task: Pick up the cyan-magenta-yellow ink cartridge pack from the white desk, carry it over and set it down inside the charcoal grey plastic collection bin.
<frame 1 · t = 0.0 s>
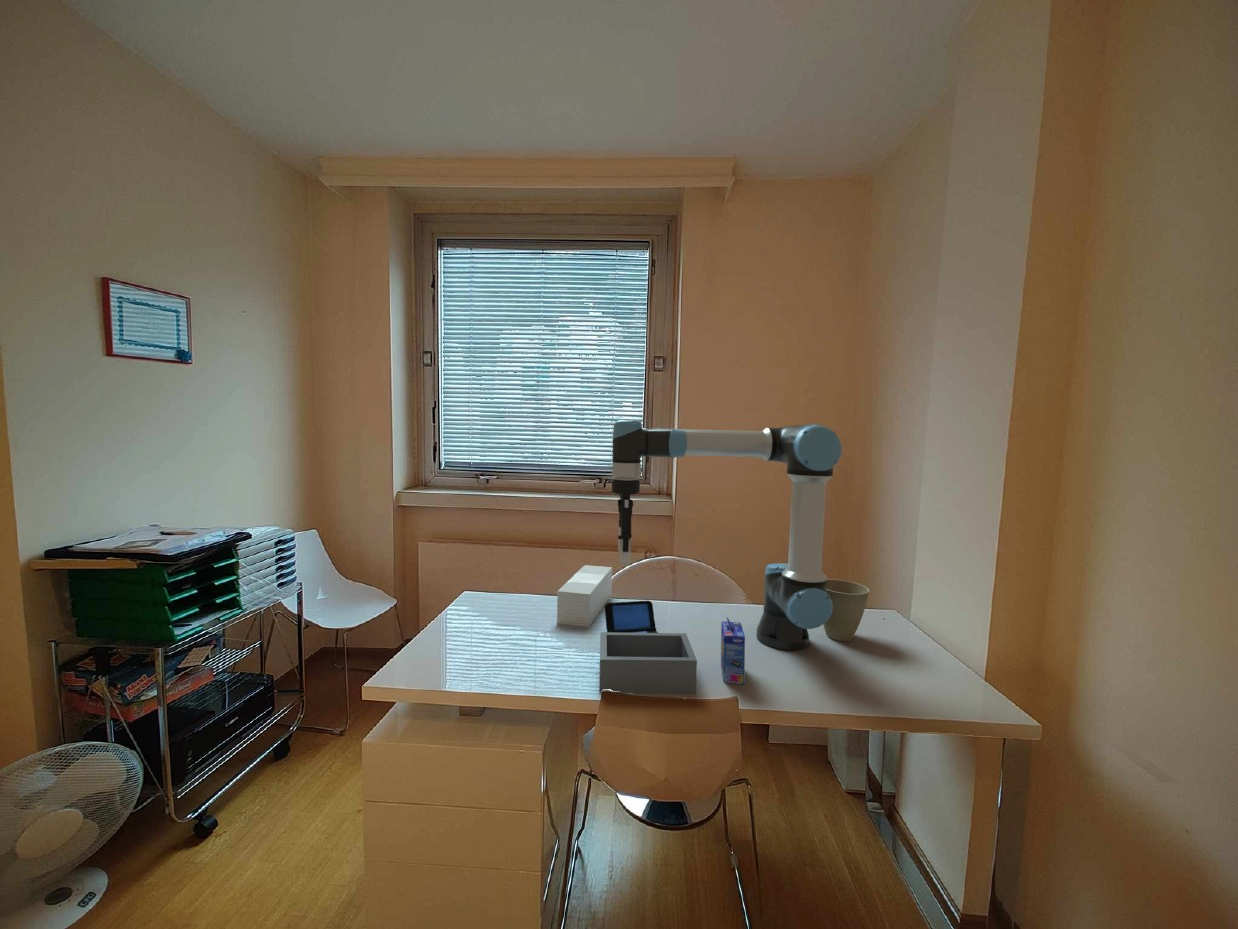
hand: (623, 557, 137), 28 cm above the table, fingers open, 13 cm apart
plant pot: (839, 637, 157), on the table
handheld game console: (633, 639, 152), on the table
ink cartridge box: (731, 675, 131), on the table
collection bin: (644, 676, 129), on the table
stack of papers: (586, 609, 177), on the table
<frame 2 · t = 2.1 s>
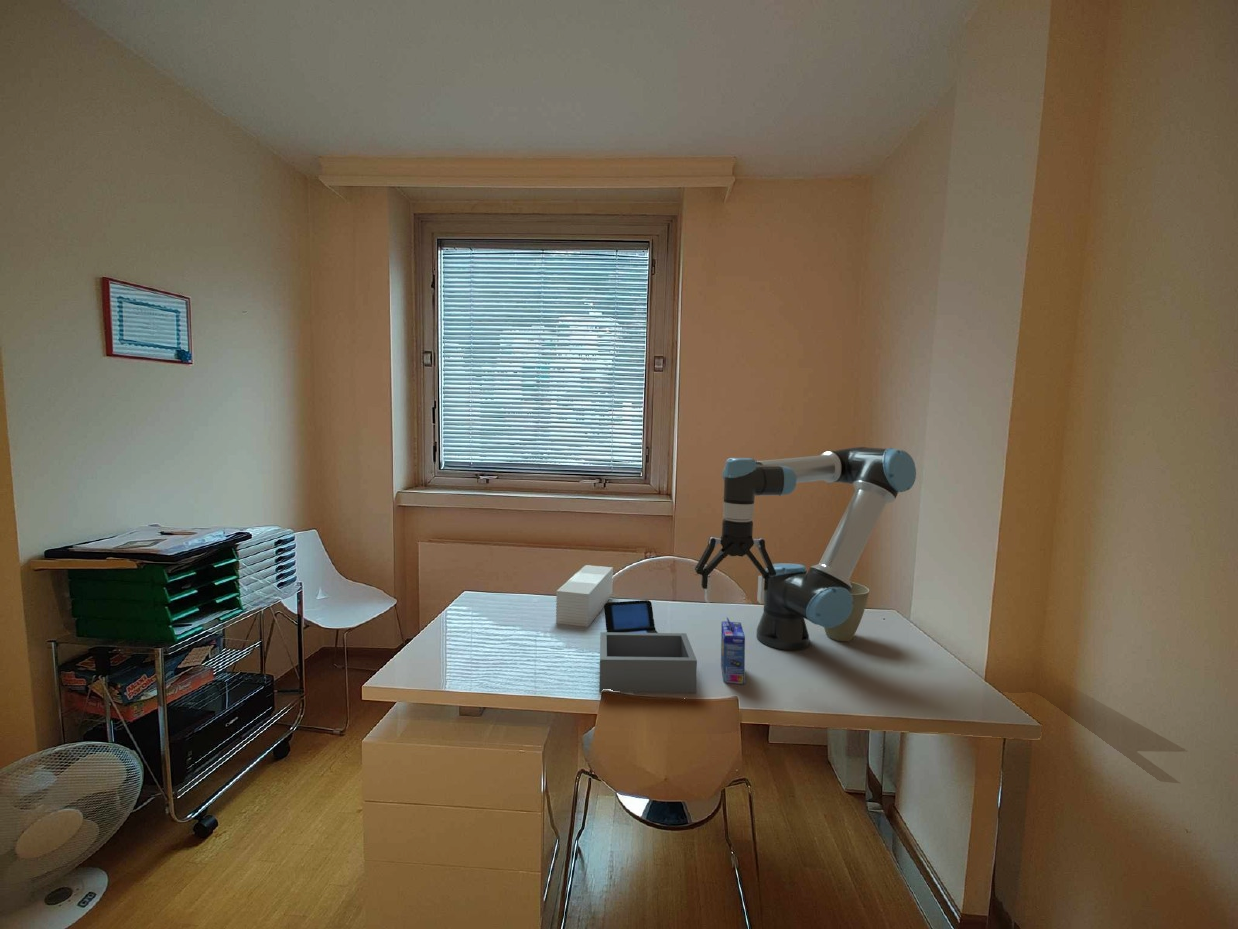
hand: (733, 601, 130), 19 cm above the table, fingers open, 13 cm apart
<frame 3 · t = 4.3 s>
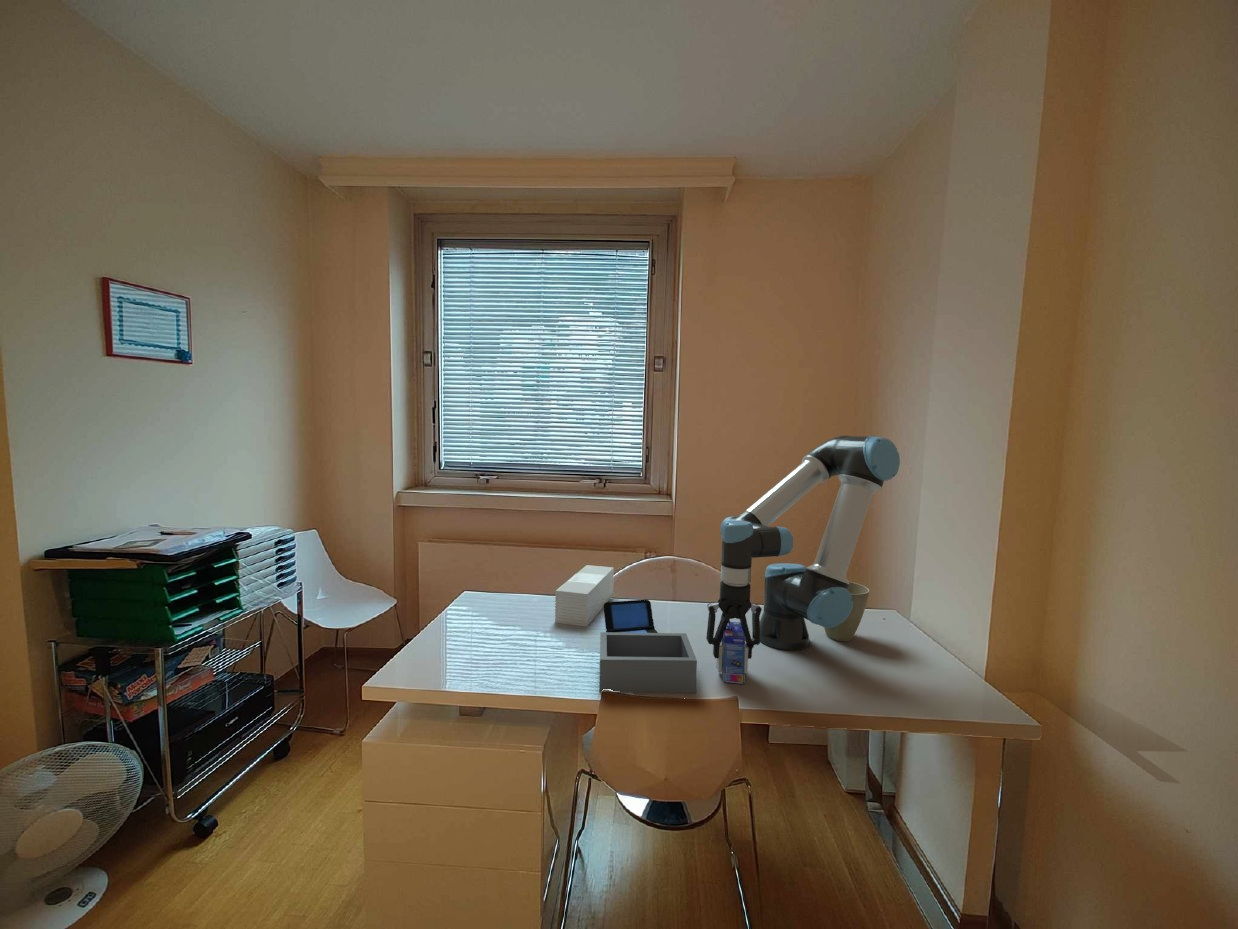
hand: (731, 669, 131), 1 cm above the table, fingers closed on ink cartridge box, 6 cm apart
ink cartridge box: (731, 675, 131), on the table, touching gripper
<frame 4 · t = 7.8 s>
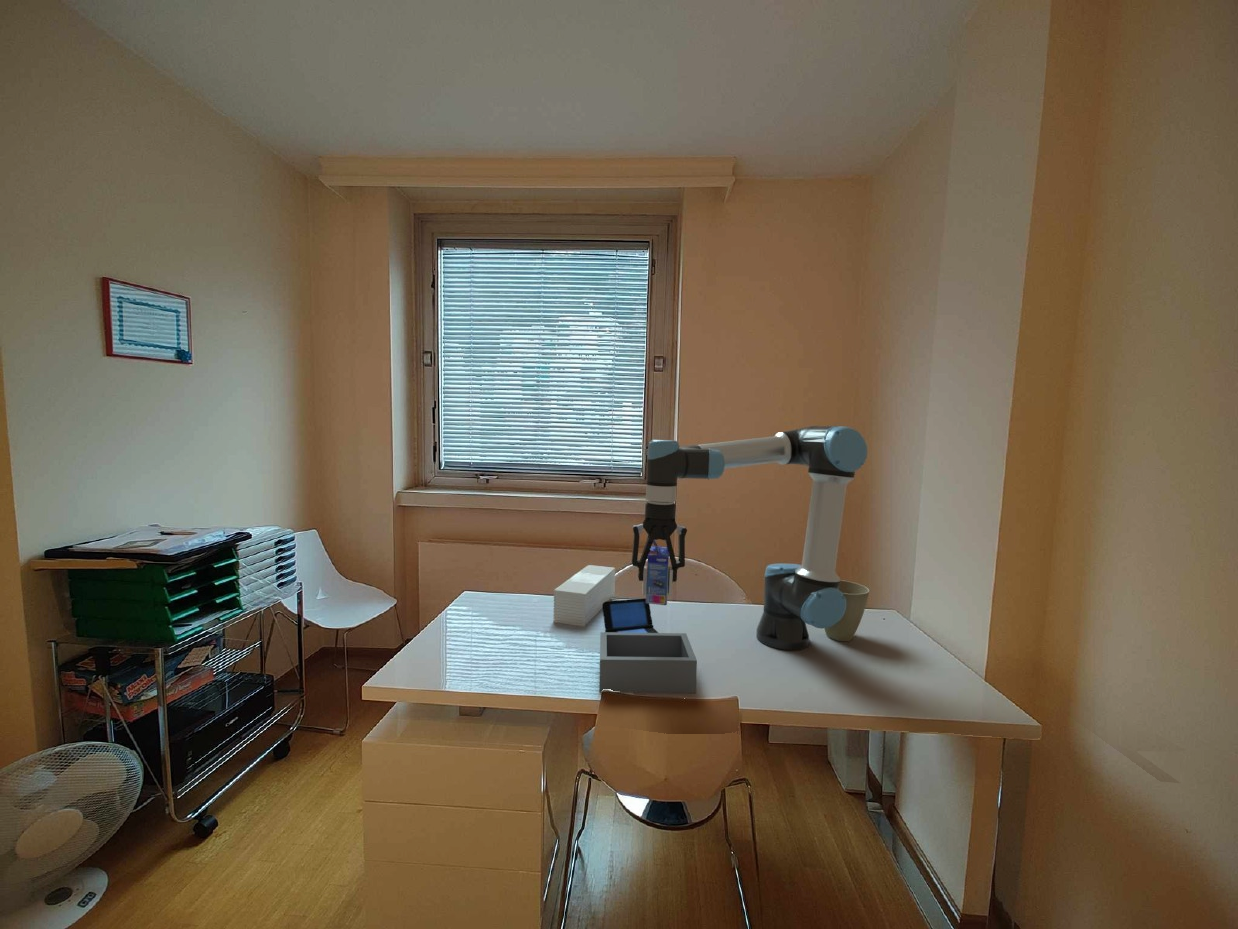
hand: (656, 593, 128), 21 cm above the table, fingers closed on ink cartridge box, 6 cm apart
ink cartridge box: (656, 599, 128), point 20 cm above the table, touching gripper
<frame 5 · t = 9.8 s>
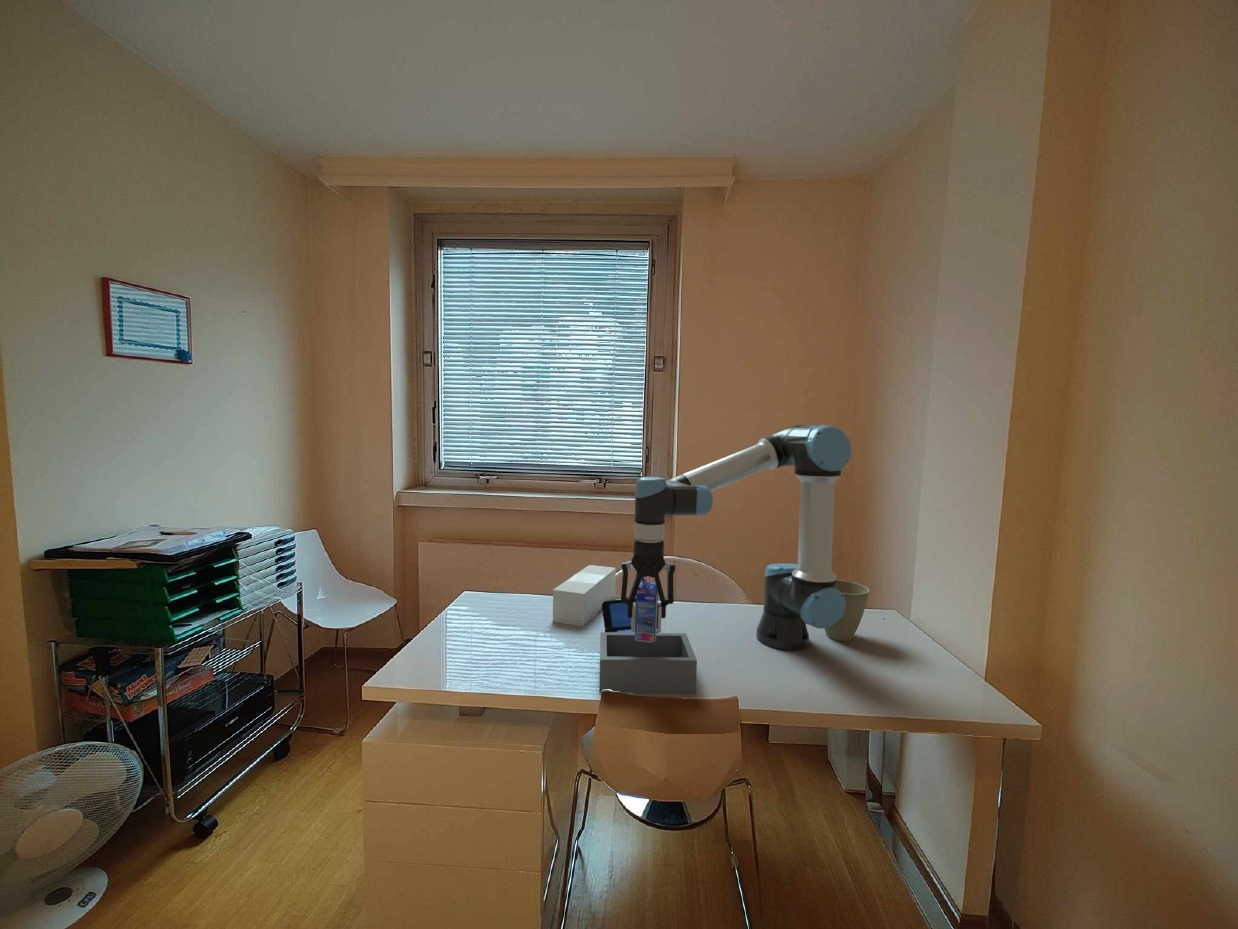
hand: (645, 629, 128), 12 cm above the table, fingers closed on ink cartridge box, 6 cm apart
ink cartridge box: (645, 635, 128), point 11 cm above the table, touching gripper
when the fingers open (5 cm above the table, at t = 11.5 s): ink cartridge box drops 2 cm, resting on collection bin.
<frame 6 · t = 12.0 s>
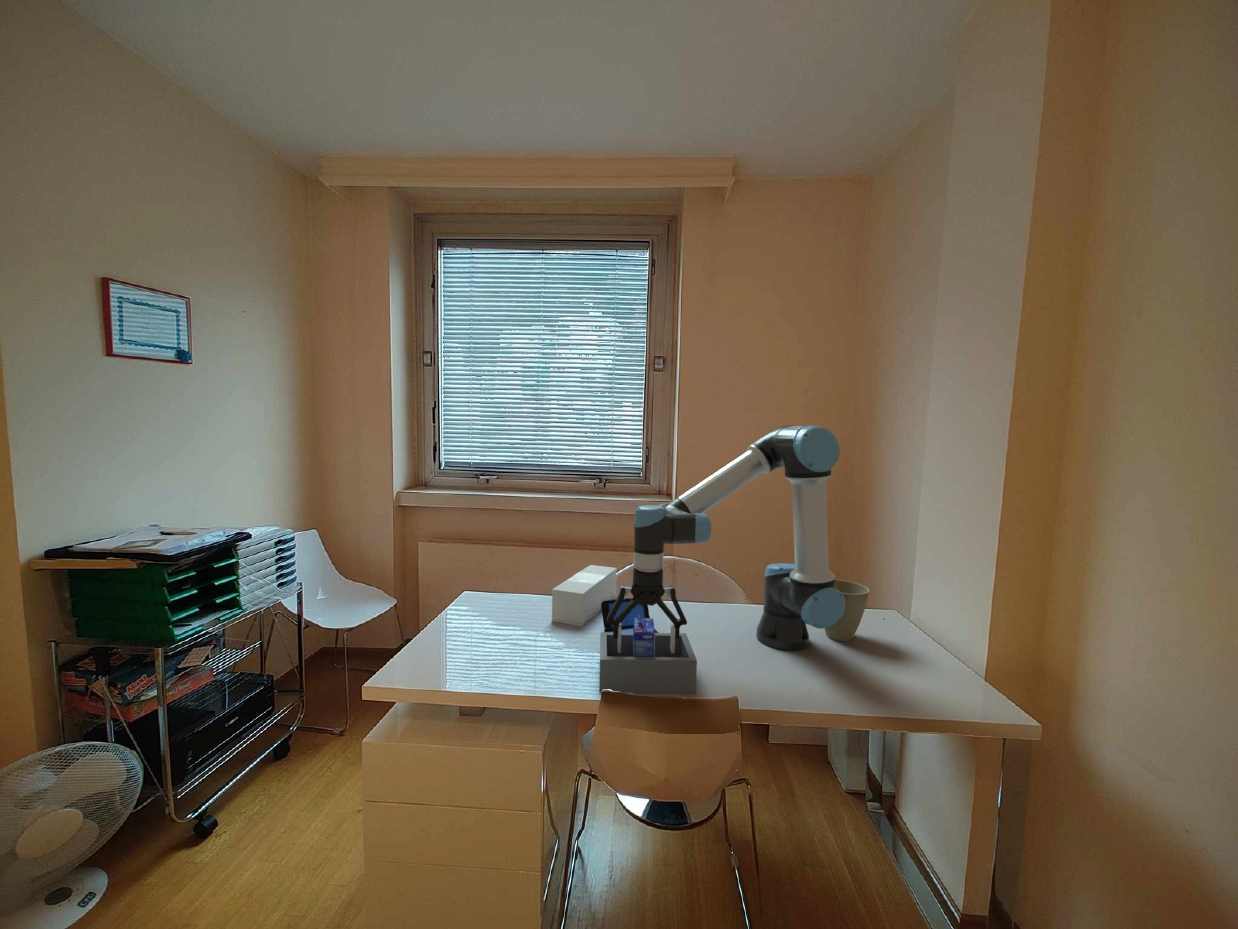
hand: (645, 650, 129), 7 cm above the table, fingers open, 13 cm apart
ink cartridge box: (643, 672, 129), point 1 cm above the table, touching collection bin
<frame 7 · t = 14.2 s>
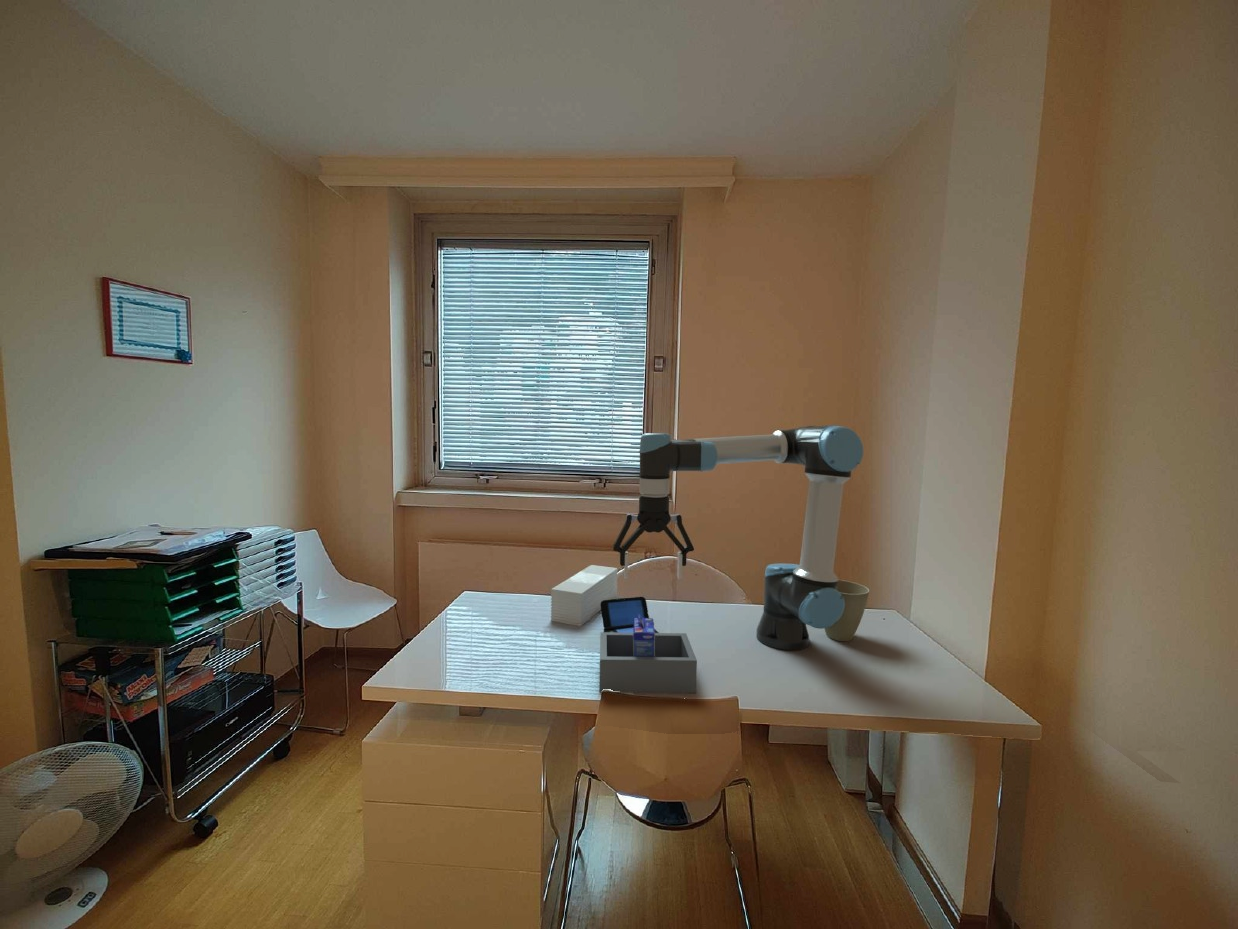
hand: (652, 578, 129), 25 cm above the table, fingers open, 13 cm apart
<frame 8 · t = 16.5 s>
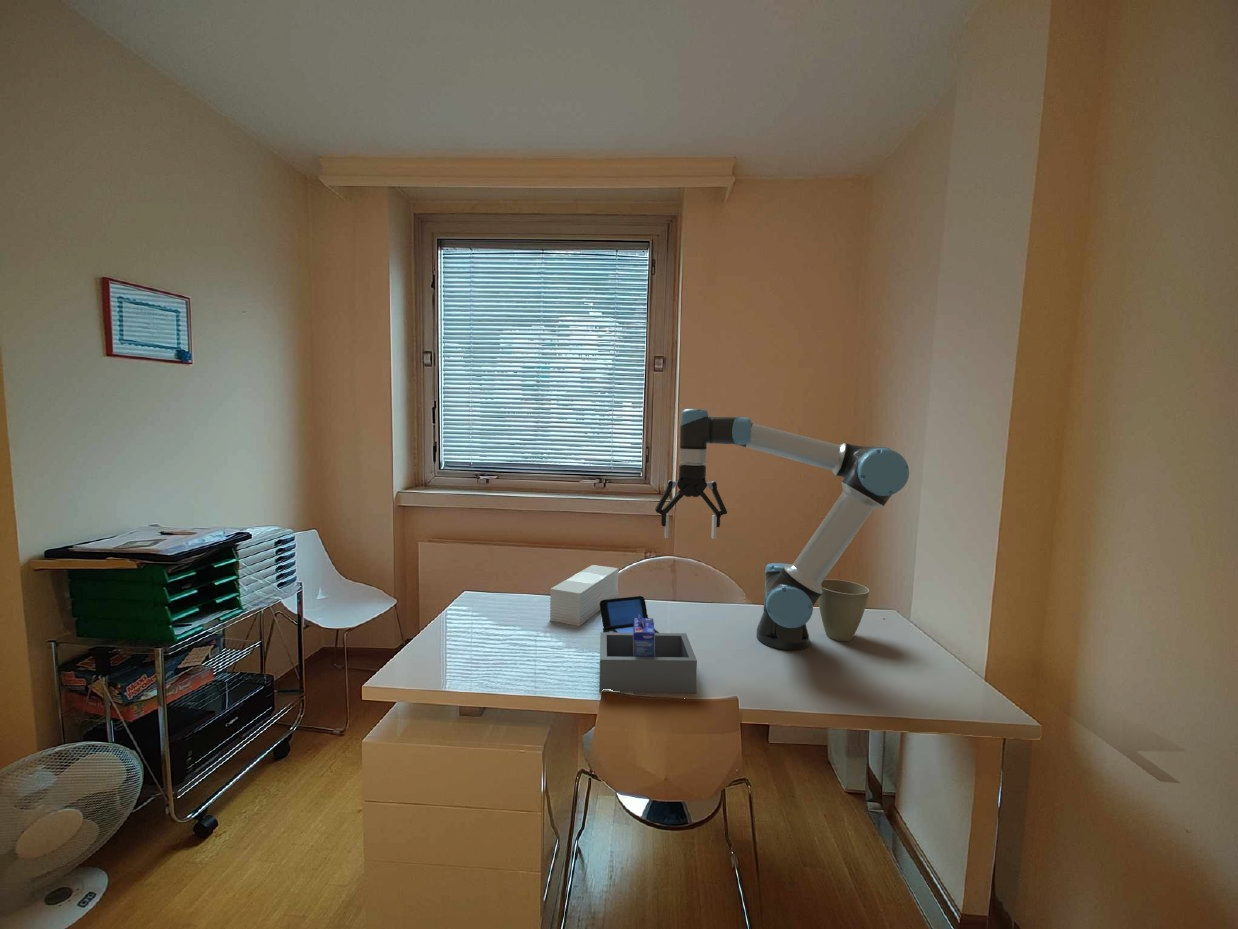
hand: (689, 538, 146), 32 cm above the table, fingers open, 13 cm apart
at the end: ink cartridge box inside the target area on the collection bin (0.5 cm from its centre), point 1.0 cm above the collection bin's base; the gripper is holding nothing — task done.
